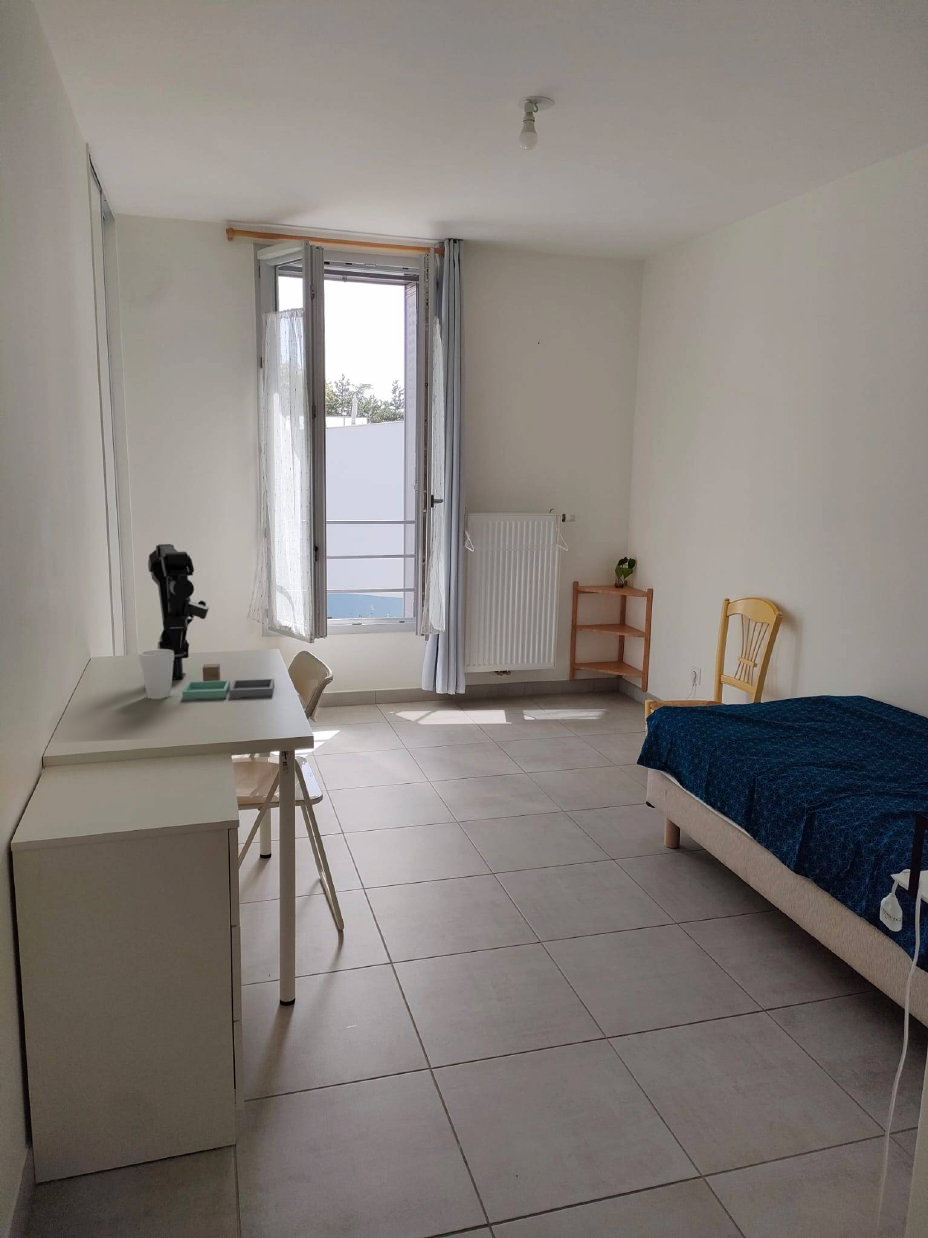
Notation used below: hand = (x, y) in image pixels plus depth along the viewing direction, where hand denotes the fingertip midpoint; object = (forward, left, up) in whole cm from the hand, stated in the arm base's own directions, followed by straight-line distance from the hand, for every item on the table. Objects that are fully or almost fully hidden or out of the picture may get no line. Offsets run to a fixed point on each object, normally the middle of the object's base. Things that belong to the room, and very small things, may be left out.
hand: (180, 646), depth 261 cm
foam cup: (+8, -6, -13) cm, 16 cm away
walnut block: (-4, +8, -13) cm, 16 cm away
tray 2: (+8, +21, -13) cm, 26 cm away
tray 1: (+8, +8, -13) cm, 17 cm away
